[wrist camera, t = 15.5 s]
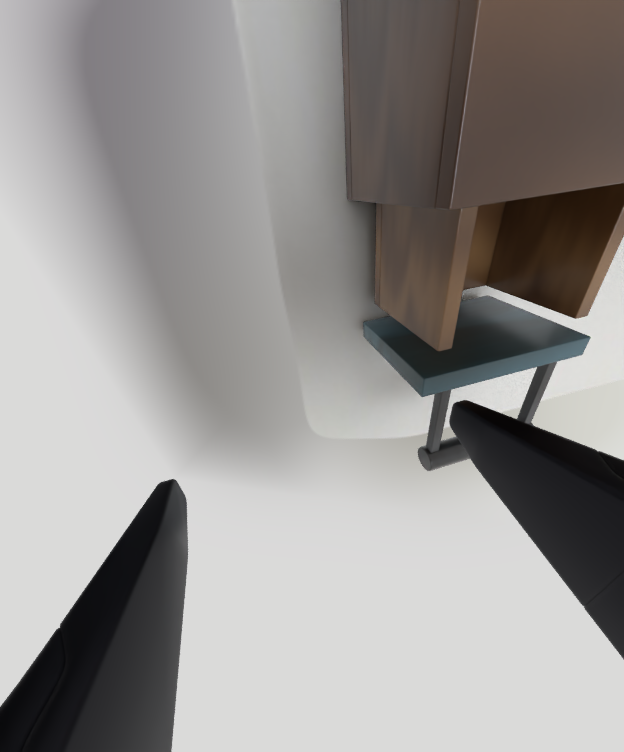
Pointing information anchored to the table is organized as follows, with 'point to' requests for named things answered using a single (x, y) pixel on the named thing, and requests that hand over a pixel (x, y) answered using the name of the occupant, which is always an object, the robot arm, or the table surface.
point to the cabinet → (481, 99)
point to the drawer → (487, 314)
